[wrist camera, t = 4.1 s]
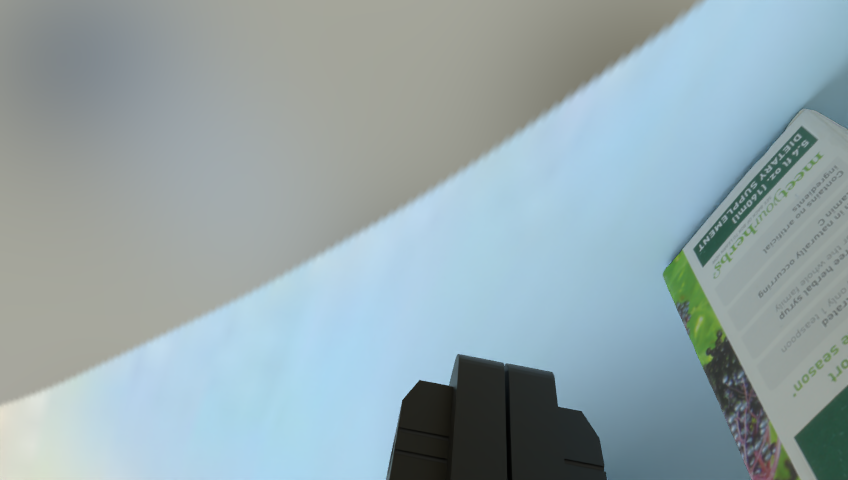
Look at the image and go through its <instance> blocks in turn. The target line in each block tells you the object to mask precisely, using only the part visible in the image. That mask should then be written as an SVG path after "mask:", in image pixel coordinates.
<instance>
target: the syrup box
mask: <svg viewBox="0 0 848 480" xmlns="http://www.w3.org/2000/svg"><path fill="white" fill-rule="evenodd" d="M663 277H664V280H665V283H666V285H667V287H668V289H669V292H670V294H671V296H672V298H673V301H674V303H675V305H676V308H677V310H678V312H679V314H680V317H681V319H682V321H683V323H684V326H685V328H686V330H687V333H688V335H689V337H690V339H691V341H692V343H693V345H694V348H695V351H696V353H697V356H698V358H699V360H700V362H701V364H702V367H703V369H704V371H705V373H706V375H707V377H708V380H709V382H710V384H711V386H712V388H713V391H714V393H715V395H716V397H717V400H718V402H719V404H720V407H721V409H722V412H723V414H724V417H725V419H726V421H727V424H728V426H729V428H730V430H731V433H732V435H733V437H734V439H735V441H736V443H737V446H738V448H739V451H740V453H741V456H742V458H743V460H744V463H745V465H746V468H747V470H748V472H749V475H750V477H751V479H752V480H848V129H846V128H845V127H843V126H841V125H839V124H838V123H836V122H834V121H833V120H831V119H829V118H827V117H826V116H824V115H822V114H821V113H819V112H817V111H815V110H808V109H802V110H801V111H799V113H798V114H797V115H796V116H795V117H794V118H793V120H792V121H791V122H790V123H789V124H788V126H787V128H786V130H785V131H784V133H783V134H782V135H781V136H780V137H779V138H778V139H777V140H776V141H775V142H774V144H773V145H772V146H771V147H770V148H769V150H768V151H767V152H766V153H765V155H764V156H763V157H762V158H761V159H760V160H759V161H758V162H757V163H755V165H754V166H753V167H752V168H751V169H750V170H749V171H748V172H747V174H746V175H745V176H744V177H743V178H742V179H741V180H740V182H739V183H738V184H737V185H736V186H735V188H734V189H733V190H732V191H731V192H730V194H729V195H728V196H727V197H726V198H725V199H724V201H723V202H722V203H721V204H720V205H719V207H718V208H717V209H716V210H715V211H714V212H713V213H712V215H711V216H710V217H709V218H708V219H707V221H706V222H705V223H704V224H703V225H702V227H701V228H700V229H699V230H698V231H697V233H696V234H695V235H694V236H693V237H692V238H691V240H690V241H689V242H688V243H687V244H686V246H685V247H684V248H683V249H682V251H681V252H680V253H679V254H678V255H677V256H676V258H675V259H674V260H673V261H672V263H671V264H670V265H669V266H668V267H667V268H666V269H665V270H664V272H663Z"/></svg>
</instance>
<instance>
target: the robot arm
mask: <svg viewBox="0 0 848 480" xmlns="http://www.w3.org/2000/svg"><path fill="white" fill-rule="evenodd" d="M386 480H607V477H606V472H604V461H603V456H602V450H601V445H600V440H599V437H598V436H597V434H596V433H595V431H594V430H593V428H592V427H591V425H590V424H589V422H588V420H587V419H586V417H585V416H584V414H583V413H582V411H577V410H572V409H567V408H561V407H558V403H557V395H556V387H555V379H554V375H553V373H552V372H549V371H544V370H539V369H533V368H528V367H523V366H518V365H513V364H508V363H506V364H505V366H504V363H501V362H496V361H491V360H486V359H481V358H476V357H471V356H465V355H460V354H458V355H457V357H456V360H455V363H454V367H453V371H452V375H451V379H450V384H449V386H447V385H442V384H437V383H431V382H426V381H421V380H419V382H418V383H417V384H416V385H415V386H414V387H413V389H412V390H411V391H410V392H409V393H408V394H407V396H406V397H405V398H404V399H403V400H402V405H401V410H400V414H399V419H398V424H397V429H396V434H395V438H394V443H393V448H392V453H391V457H390V462H389V467H388V472H387V478H386Z"/></svg>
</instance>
